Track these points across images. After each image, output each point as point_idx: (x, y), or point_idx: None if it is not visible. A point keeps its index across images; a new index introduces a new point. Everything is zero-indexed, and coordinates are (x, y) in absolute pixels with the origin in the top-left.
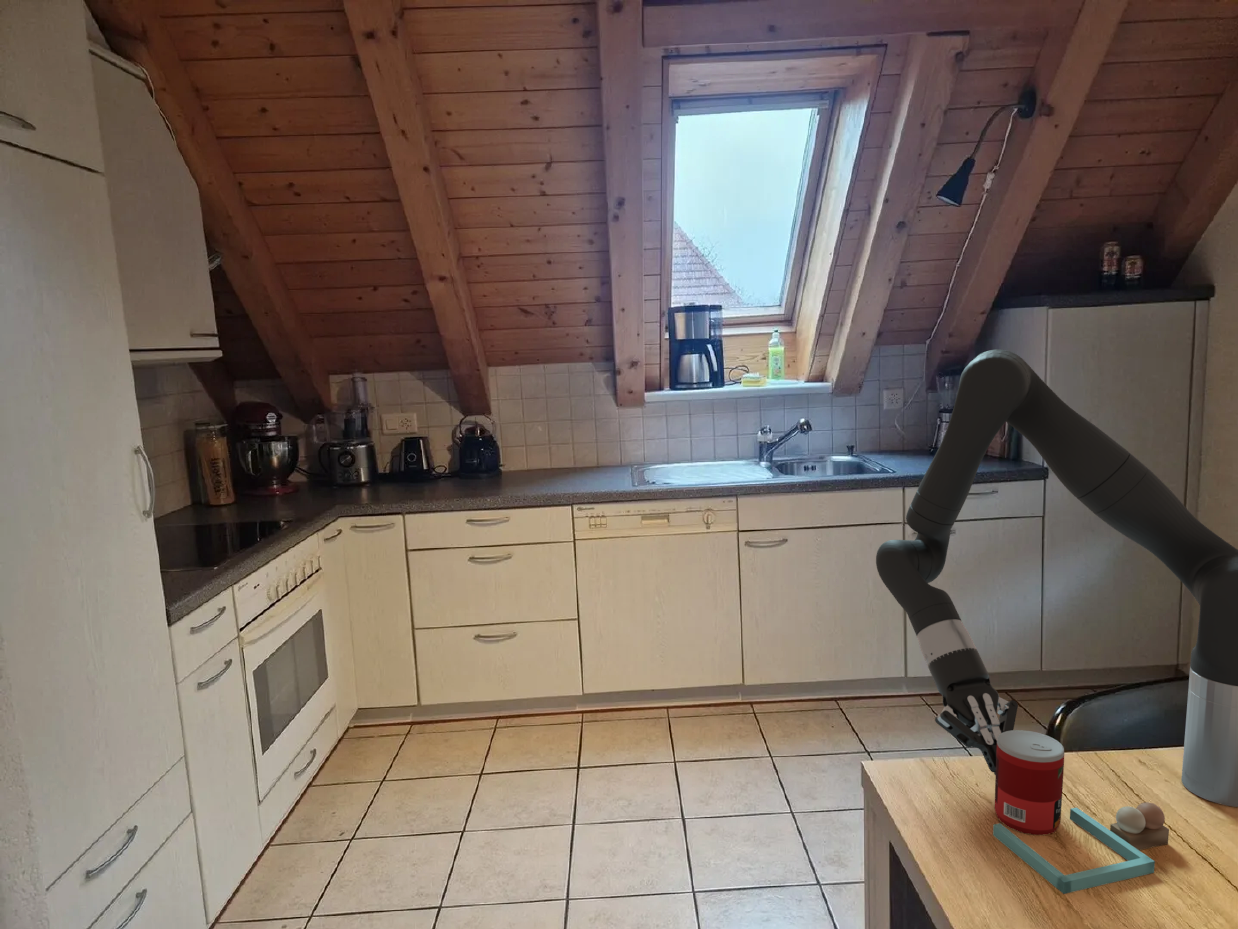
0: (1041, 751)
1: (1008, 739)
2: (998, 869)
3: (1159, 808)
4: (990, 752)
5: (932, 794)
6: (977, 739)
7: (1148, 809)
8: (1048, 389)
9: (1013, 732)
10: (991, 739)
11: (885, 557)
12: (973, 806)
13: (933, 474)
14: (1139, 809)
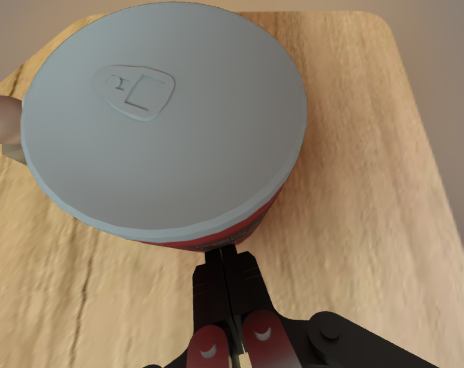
0: (147, 61)
1: (241, 156)
2: (306, 83)
3: None
4: (260, 293)
5: (368, 299)
6: (321, 325)
7: (1, 98)
8: None
9: (185, 211)
10: (249, 335)
11: None
12: (292, 247)
13: None
14: (15, 112)
